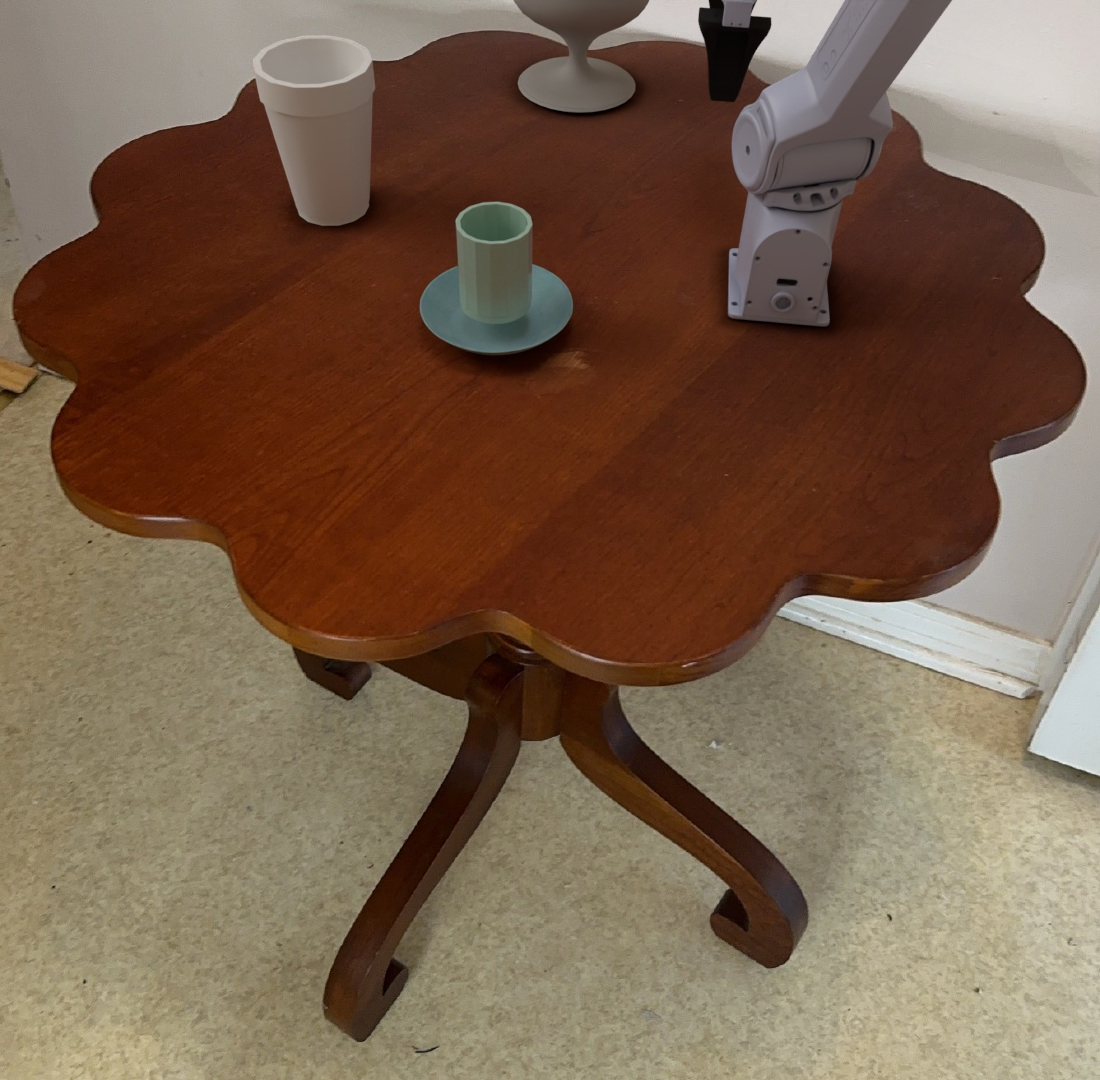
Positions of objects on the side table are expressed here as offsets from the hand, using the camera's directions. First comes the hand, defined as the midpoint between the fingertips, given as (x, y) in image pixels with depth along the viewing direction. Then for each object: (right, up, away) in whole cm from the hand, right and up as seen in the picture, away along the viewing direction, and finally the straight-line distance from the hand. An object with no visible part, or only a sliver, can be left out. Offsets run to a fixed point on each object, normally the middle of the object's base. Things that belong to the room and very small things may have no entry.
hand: (723, 78), depth 92 cm
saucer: (-19, -22, -6) cm, 30 cm away
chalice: (-12, +8, +21) cm, 25 cm away
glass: (-19, -21, -8) cm, 29 cm away
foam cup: (-34, -10, +5) cm, 36 cm away
